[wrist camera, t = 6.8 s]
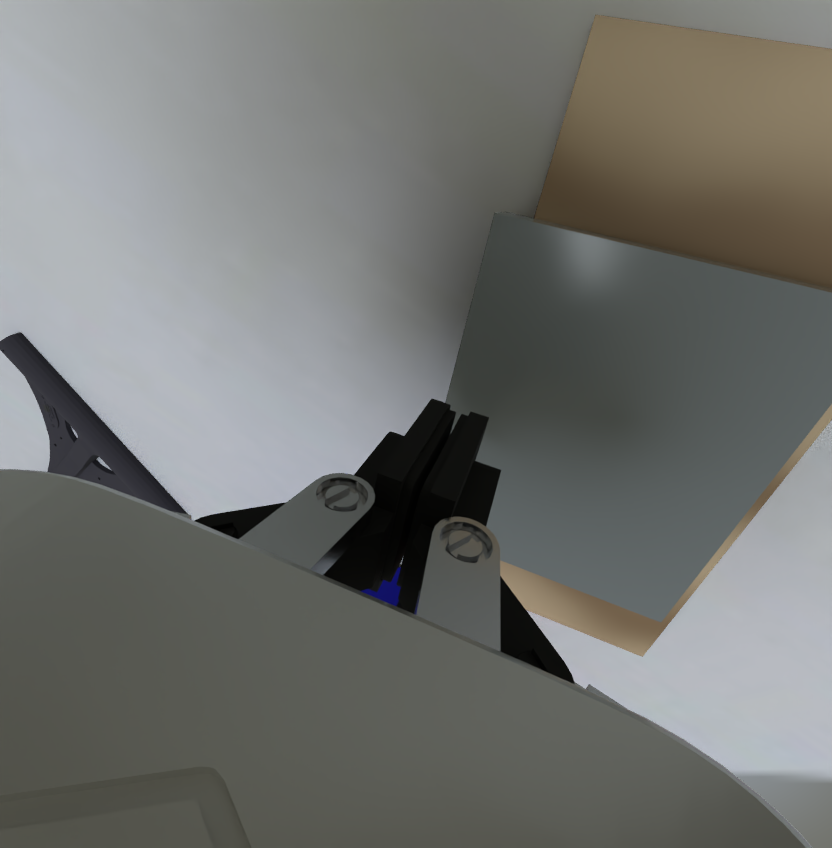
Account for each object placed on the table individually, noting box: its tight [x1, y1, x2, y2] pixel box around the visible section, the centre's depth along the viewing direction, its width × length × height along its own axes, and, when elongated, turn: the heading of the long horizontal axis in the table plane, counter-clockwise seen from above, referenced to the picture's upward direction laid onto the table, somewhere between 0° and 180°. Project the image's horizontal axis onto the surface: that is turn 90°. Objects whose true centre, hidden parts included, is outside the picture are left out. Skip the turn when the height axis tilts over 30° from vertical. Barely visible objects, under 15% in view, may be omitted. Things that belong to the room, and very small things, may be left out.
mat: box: [500, 15, 832, 657], centre depth 16 cm, size 22×11×1 cm, turn 168°
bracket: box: [0, 333, 187, 514], centre depth 29 cm, size 14×15×3 cm
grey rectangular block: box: [445, 212, 832, 622], centre depth 15 cm, size 12×3×10 cm
